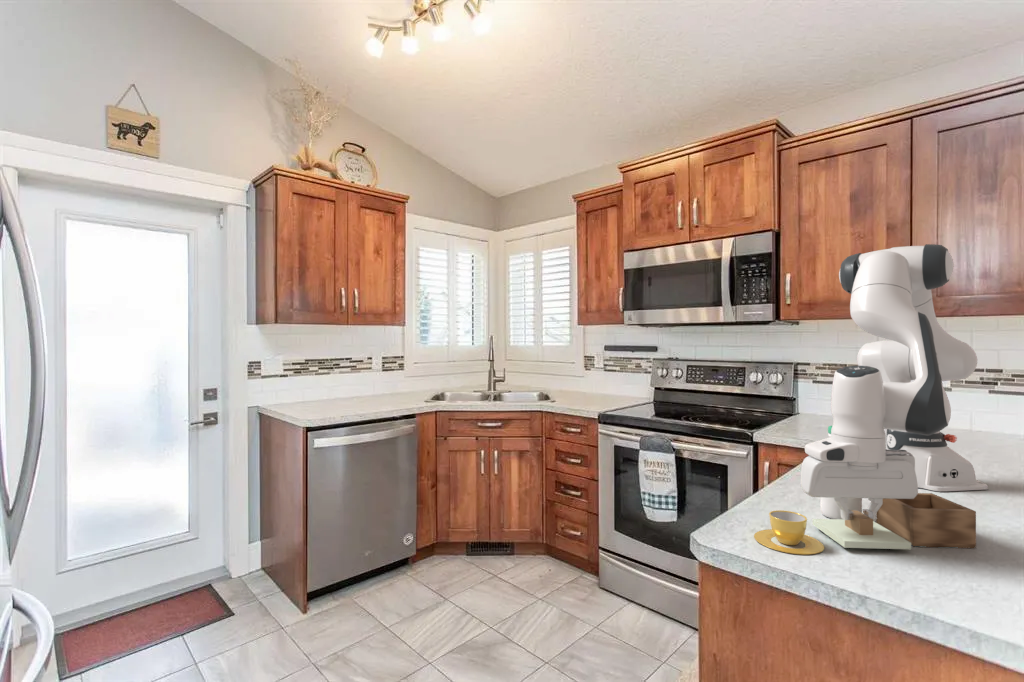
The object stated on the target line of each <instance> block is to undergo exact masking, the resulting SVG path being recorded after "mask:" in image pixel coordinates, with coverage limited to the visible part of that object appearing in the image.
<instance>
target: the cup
mask: <svg viewBox="0 0 1024 682" xmlns="http://www.w3.org/2000/svg"><path fill="white" fill-rule="evenodd" d="M768 515H769V516H768V517H769V523H770V529H769V528H768V529H762V530H759V531H756V532H755V533H754V534H753V539H754V540H756V542H758V543H759V544H761V545H762V546H764V547H766V548H768V549H772V550H775V551H777V552H783V553H786V554H794V555H816V554H820V553H822V552H823V551H824V550H825V545H824V544H823V542H821V541H819V540H818V539H816V538H814V537H813V536H810V535H807V534H806V530H807V523H808V518H807V516H806V515H803V514H801V513H799V512H795V511H790V510H780V509H779V510H778V509H776V510H771V511H769V513H768ZM772 538H775V539H776V541H778V542H779V543H781V544H783V545H786V546H797V545H799V543H801V542H802V543H804V545H805V546H804V547H801V548H795V547H794V548H793V547H792V548H791V547H785V546H781V545H779V544H777V543H775V542H773V541H772Z"/></svg>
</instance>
